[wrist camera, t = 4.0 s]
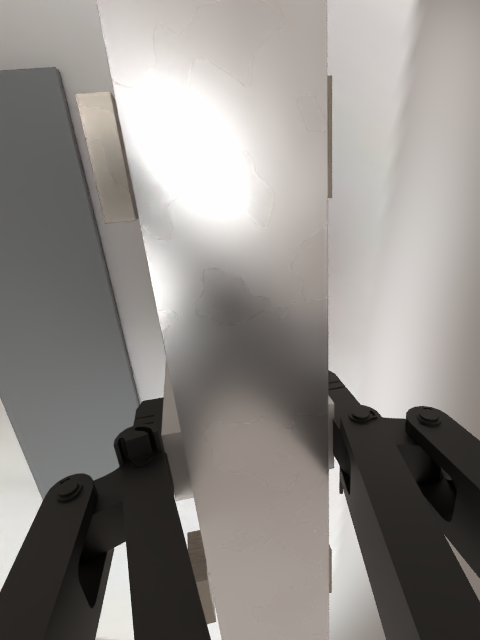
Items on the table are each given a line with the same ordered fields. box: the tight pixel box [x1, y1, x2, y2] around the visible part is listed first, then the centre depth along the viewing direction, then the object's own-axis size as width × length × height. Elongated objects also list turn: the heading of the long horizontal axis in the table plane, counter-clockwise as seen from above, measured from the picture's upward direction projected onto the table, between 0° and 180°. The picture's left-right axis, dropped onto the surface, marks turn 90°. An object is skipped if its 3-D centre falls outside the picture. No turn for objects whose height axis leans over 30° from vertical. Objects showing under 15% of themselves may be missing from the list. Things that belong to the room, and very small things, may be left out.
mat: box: [0, 67, 140, 500], centre depth 22 cm, size 28×8×1 cm, turn 6°
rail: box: [96, 0, 329, 640], centre depth 12 cm, size 26×4×5 cm, turn 6°
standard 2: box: [75, 76, 332, 224], centre depth 15 cm, size 5×6×11 cm
